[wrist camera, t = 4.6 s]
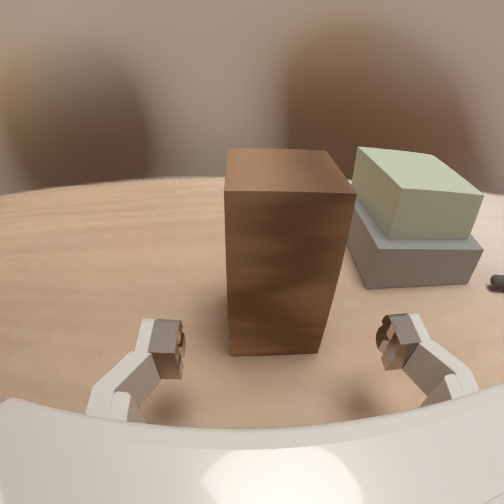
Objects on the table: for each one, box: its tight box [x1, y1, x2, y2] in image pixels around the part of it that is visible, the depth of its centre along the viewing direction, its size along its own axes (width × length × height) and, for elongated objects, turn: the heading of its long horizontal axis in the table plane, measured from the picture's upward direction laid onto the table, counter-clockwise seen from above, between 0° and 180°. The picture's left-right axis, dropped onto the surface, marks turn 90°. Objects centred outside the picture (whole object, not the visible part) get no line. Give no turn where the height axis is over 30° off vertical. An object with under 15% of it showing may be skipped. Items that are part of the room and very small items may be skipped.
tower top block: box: [351, 147, 484, 240], centre depth 23 cm, size 8×8×4 cm
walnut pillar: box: [224, 148, 357, 356], centre depth 17 cm, size 5×5×10 cm
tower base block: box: [347, 184, 484, 289], centre depth 25 cm, size 10×10×4 cm
